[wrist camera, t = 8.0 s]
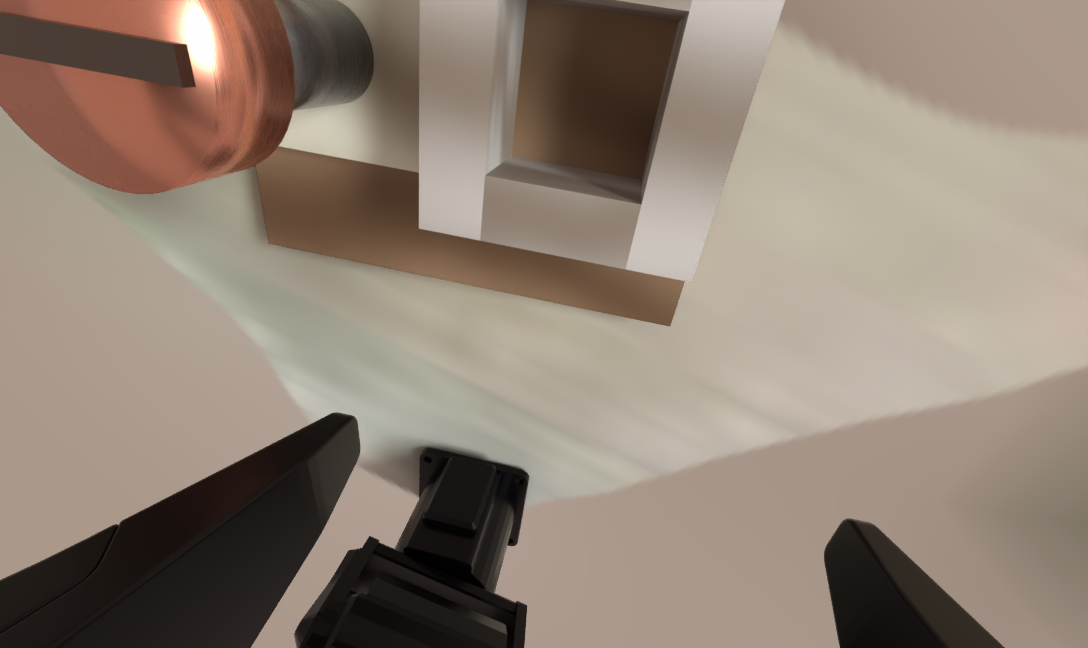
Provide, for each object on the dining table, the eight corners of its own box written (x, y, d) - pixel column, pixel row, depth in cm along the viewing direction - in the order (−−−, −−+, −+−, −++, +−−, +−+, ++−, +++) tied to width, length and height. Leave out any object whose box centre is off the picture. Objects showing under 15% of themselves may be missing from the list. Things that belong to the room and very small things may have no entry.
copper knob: (406, -37, 14) (153, -142, 7) (408, 151, 17) (229, 220, 10) (240, -62, 15) (-164, -186, 7) (268, 125, 18) (-4, 171, 10)
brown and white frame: (668, 310, 21) (675, 374, 16) (290, 233, 22) (206, 274, 18) (828, -202, 13) (927, -339, 8) (218, -271, 14) (34, -418, 10)
